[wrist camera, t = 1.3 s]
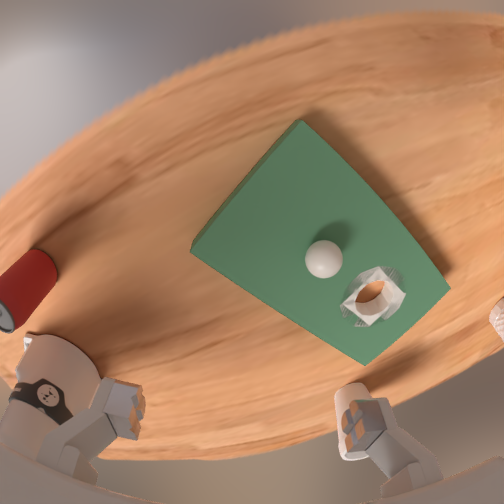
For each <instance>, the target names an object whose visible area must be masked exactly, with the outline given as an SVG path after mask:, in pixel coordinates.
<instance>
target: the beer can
mask: <svg viewBox="0 0 504 504" xmlns="http://www.w3.org/2000/svg"><path fill="white" fill-rule="evenodd" d="M56 281H57V271H56V267H55V265H54V263H53V261H52V260H51V258H50V257H49V256H48V255H47V254H45V253H44V252H42V251H40V250H36V249H32V250H29V251H28V252H27V253H25V254H24V255H23V256H22V257H21V258H20V259H19V260H17V261H16V262H15V263H14V264H13V265H12V266H11V267H10V268H9V269H8V270H7V271H6V272H4V273H3V274H2V275H1V276H0V330H1V331H2V332H5V333H12V332H13V331H14V330H16V329H18V328H19V327H21V326H22V325H23V324H24V323H25V322H26V321H27V319H28V318H29V317H30V316H31V314H32V313H33V312H34V310H35V309H36V308H37V307H38V305H39V304H40V303H41V301H42V300H43V299H44V298H45V297H46V295H47V294H48V293H49V292H50V290H51V289H52V288H53V287H54V286H55V284H56Z"/></svg>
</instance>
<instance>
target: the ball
mask: <svg viewBox="0 0 504 504" xmlns="http://www.w3.org/2000/svg"><path fill="white" fill-rule="evenodd" d="M342 262H343V256H342V252H341V250H340V248H339V247H338V246H337V245H336V244H335V243H333V242H331V241H328V240H320V241H317V242H315V243H313V244H312V245H311V246H310V247H309V248H308V250H307V252H306V256H305V263H306V266H307V268H308V270H309V271H310V273H311V274H313V275H314V276H316V277H319V278H329V277H332V276H334V275H335V274H336V273H337V272H338V271H339V270H340V268H341V266H342Z"/></svg>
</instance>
